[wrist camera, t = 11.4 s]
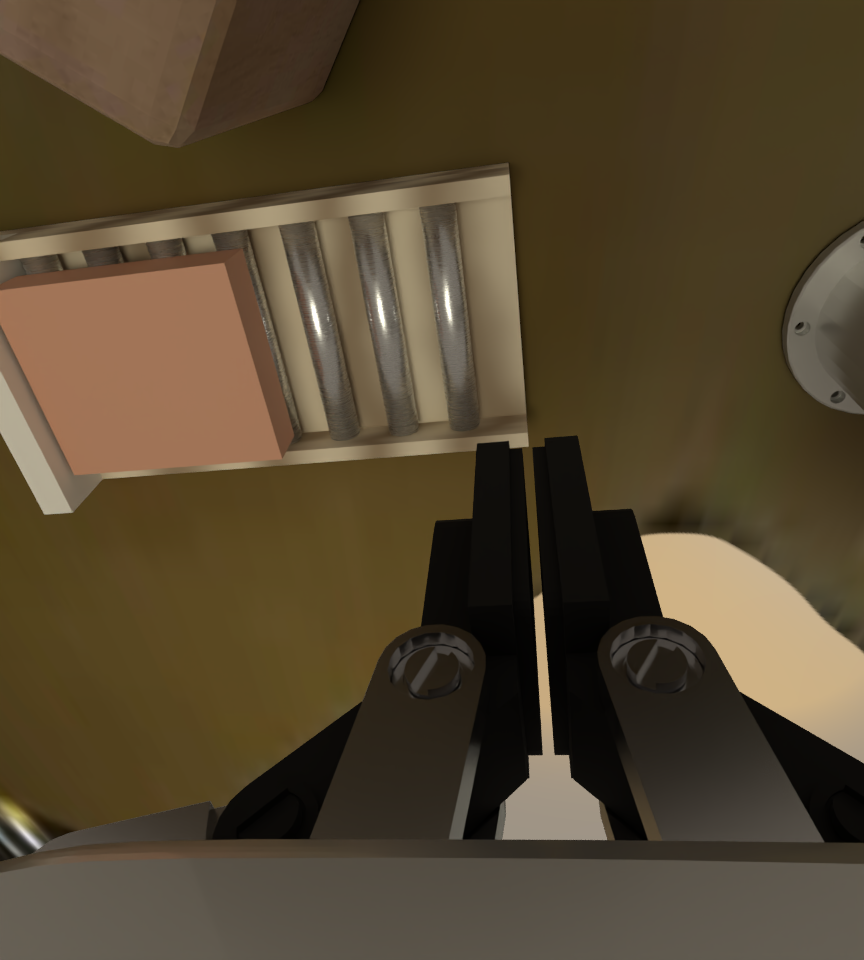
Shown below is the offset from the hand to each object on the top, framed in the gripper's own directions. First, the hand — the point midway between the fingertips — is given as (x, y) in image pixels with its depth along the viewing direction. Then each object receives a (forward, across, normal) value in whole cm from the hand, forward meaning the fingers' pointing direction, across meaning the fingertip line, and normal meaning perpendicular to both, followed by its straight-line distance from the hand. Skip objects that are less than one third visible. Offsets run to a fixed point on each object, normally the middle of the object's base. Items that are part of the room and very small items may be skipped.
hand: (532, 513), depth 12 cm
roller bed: (+32, +16, +7) cm, 37 cm away
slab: (+28, +22, +7) cm, 37 cm away
